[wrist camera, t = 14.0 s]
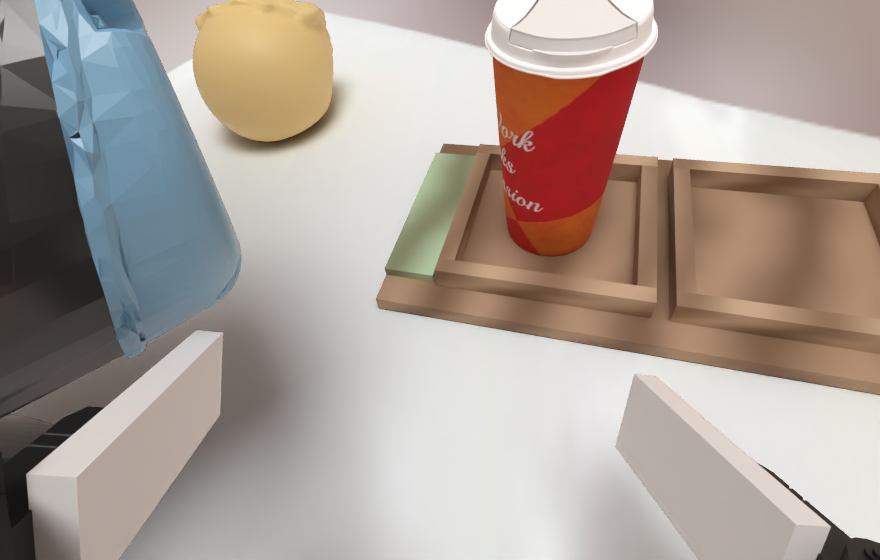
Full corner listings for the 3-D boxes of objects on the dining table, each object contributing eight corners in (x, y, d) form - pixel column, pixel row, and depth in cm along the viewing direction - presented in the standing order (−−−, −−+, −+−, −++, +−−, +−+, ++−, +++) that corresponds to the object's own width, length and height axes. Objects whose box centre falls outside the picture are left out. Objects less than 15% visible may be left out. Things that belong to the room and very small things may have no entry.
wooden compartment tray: (379, 308, 30) (370, 284, 28) (445, 153, 39) (441, 127, 38) (1036, 421, 22) (1087, 398, 20) (925, 192, 31) (953, 161, 29)
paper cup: (495, 186, 35) (490, -28, 24) (604, 187, 33) (653, -39, 22) (486, 269, 30) (475, 50, 19) (613, 274, 29) (680, 42, 18)
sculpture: (357, 83, 49) (326, -36, 40) (325, 156, 41) (278, 29, 33) (255, 87, 50) (204, -26, 42) (206, 158, 43) (134, 38, 35)
